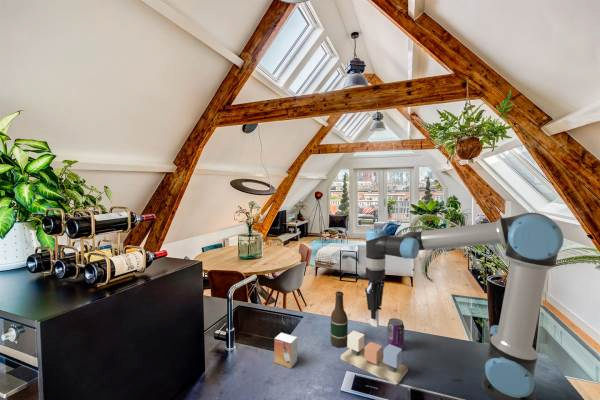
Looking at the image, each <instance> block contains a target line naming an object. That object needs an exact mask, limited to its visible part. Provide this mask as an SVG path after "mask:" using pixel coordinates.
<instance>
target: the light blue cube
mask: <svg viewBox="0 0 600 400" xmlns="http://www.w3.org/2000/svg"><path fill="white" fill-rule="evenodd" d="M382 356H383V363H385V364H387V365H390V366H392V367H394V368H397V367H398V366H399V365H400V364H402V363H403V358H402V357H403V349H401V348H398V347H396V346H393V345H390V344H389V345H386V346H385V347H384V348H383V349H382Z"/></svg>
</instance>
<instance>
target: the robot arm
mask: <svg viewBox="0 0 600 400" xmlns="http://www.w3.org/2000/svg"><path fill="white" fill-rule="evenodd" d="M365 237H366V238H365V258H364V260H365V277H366V278H367V279H368V283H367V285H368V287H365V288H364V291H365V294H366V296H365V297H366V304H367V305H366V306H367V310H368V311H370V326H372V327H374V328H378V327H379V321H380V320H379V319H380V316H379V315H380V313H379V312H380V311H381V310H382V306H383V305H382V304H383V295H384V287H385V283H386V282H385V281H382V280H385V278H386V269H385V268H386V256H391V257H396V258H403V259H409V260H410V259H412V260H416V258H417V257H418V256H419V252H420V251H425V250H426V251H427V250H438V249H450V248H451V249H452V248H462V247H463V248H465V247H473V246H474V247H476V246H486V245H488V246H489V245H500V244H501V245H503V246H505V247H506V248H505V255H504V256H505V257H506V259H508V261H509V266H508V267H509V268H508V272H507V276H506V277H507V278H506V284H505V290H504V294H503V300H502V306H501V311H500V318H499V322H498V325H497V324H494V325H491V327H490V328H489V329H490V330H489V341H488V342H489V343H488V344H489V345H488V350H487V354H486V355H487V357H486V362H485V363H484V364H485V365H484V370H485V371H484V372H485V373H484V374H483V376H482V378H481V379H482V380H481V387H482V388H481V389H483V391H484V393H485V394H486V395H487V396H488V397H489V398H491V399H492V400H536V399H537V397H536V394H535V389H534V388H535V385H536V382H535V377H534V376H535V370H536V366H537V360H538V352H537V351H536V349H535V348H534V347H533V345H534V339H535V334H536V330H537V324H538V319H539V318H538V317H539V314H540V310H541V308H540V307H541V304H542V300H543V299H542V297H543V295H544V288H545V283H546V278H547V272H548V271H549V270H551V269H553V268H555V267H556V266H557V265H556V264H557V260H558V254H559V252H560V250H561V249H562V248H563V245H564V234H563V231H562V229H561V227H560V226H559V225H558V223H556V222H555V221H554V220H553V219H552V218H550V217H549V216H547V215H544V214H542V213H539V212H525V213H521V214H518V215H513V216H507V217H500V218H498V219H497V221H492V222H486V223H476V224H469V225H462V226H459V225H458V226H454V227H444V228H436V229H428V230H420V231H408V232H406V233H404V234H402V235H400V236H393V235H388V234H387V231H386V230H385V229H381V228H370V229H369V228H368V229H367V230H366V235H365ZM379 310H380V311H379Z"/></svg>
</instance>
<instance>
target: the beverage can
mask: <svg viewBox="0 0 600 400" xmlns="http://www.w3.org/2000/svg"><path fill="white" fill-rule="evenodd" d="M386 342H387V343H386V346H388V345H389V344H390V345H393V346H396V347H398V348H401V349H402V350H404V348H405V324H404V321H403V320H401V319H399V318H396V317H395V318H394V317H393V318H392V317H391V318H389V320H388V323H387V339H386Z"/></svg>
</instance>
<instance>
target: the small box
mask: <svg viewBox="0 0 600 400" xmlns="http://www.w3.org/2000/svg"><path fill="white" fill-rule="evenodd" d="M273 345H274V347H273V348H274V349H273V351H274V352H273V353H274V356H273V362H274V363H275V364H278V365H281V366H282V367H283V366H284V367H286V368H289V369H292V367H293V366H294V365H295V364H296V363H297V362H298V336H295V335H290V334H288V333H284V332H280V333H279V334H278V335H276V336H275V337H274V344H273Z"/></svg>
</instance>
